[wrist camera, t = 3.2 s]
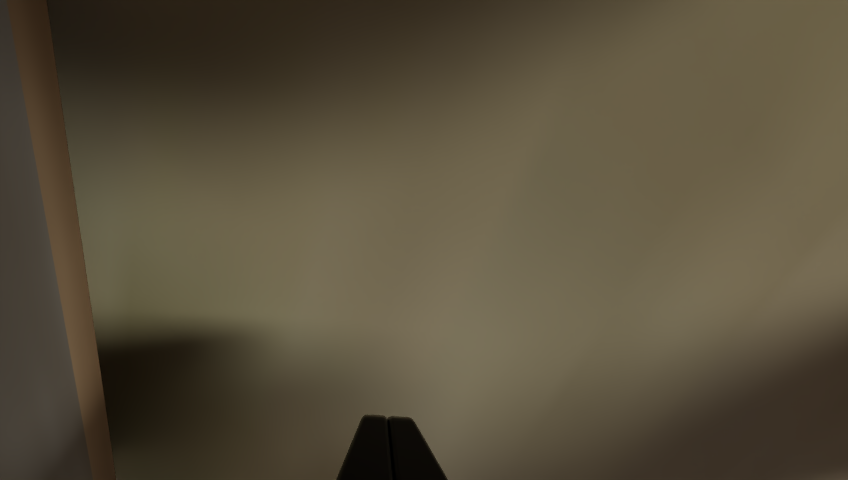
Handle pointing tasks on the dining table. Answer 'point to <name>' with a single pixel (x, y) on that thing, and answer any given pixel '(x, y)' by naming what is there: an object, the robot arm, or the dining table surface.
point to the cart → (43, 274)
